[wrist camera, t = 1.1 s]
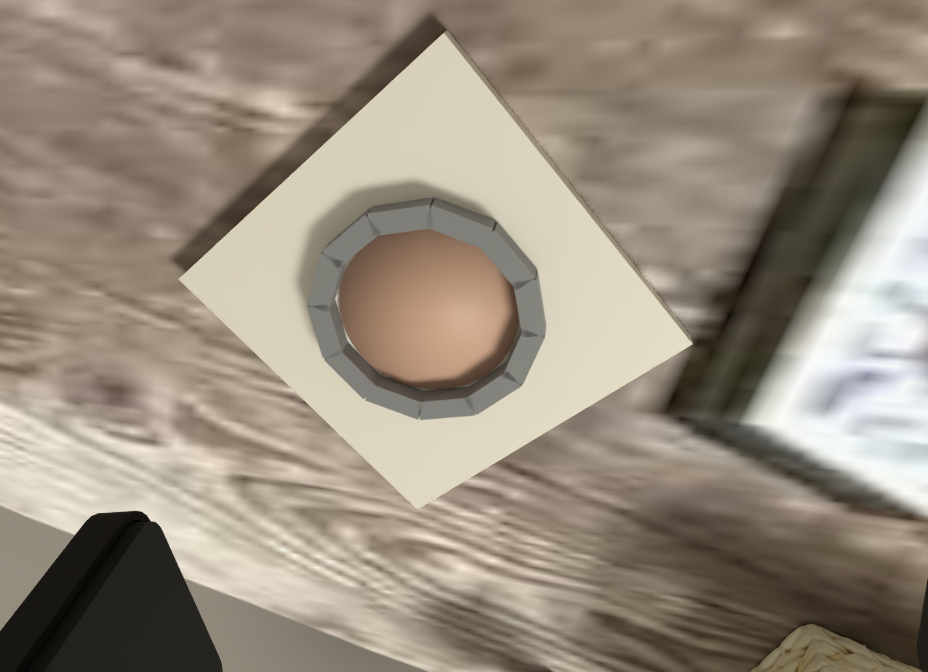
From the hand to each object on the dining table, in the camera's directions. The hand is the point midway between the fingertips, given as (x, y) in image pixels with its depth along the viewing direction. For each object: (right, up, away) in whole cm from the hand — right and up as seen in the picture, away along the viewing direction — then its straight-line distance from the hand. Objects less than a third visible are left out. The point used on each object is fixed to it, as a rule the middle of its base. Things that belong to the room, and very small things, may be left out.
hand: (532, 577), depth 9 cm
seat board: (-3, +5, +33) cm, 33 cm away
